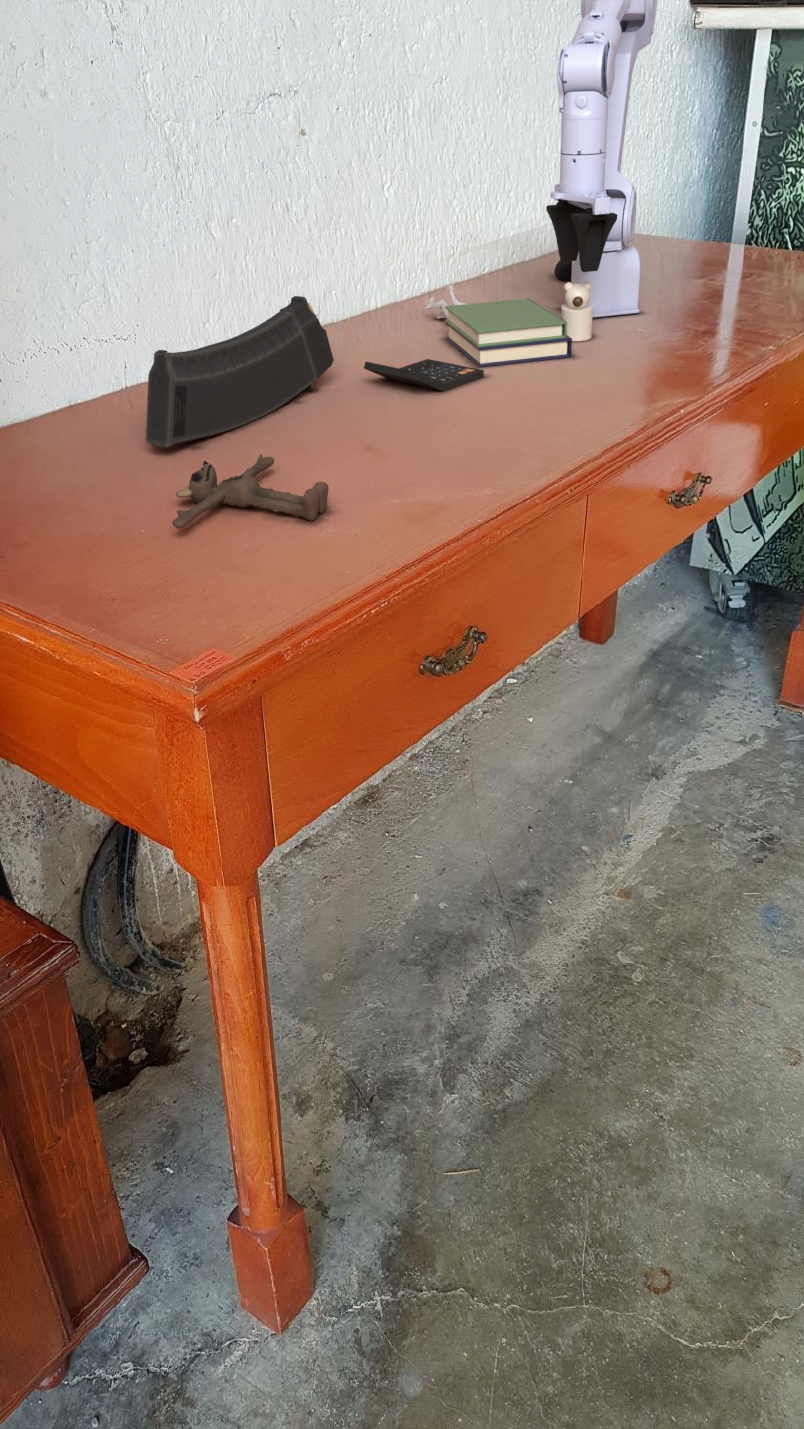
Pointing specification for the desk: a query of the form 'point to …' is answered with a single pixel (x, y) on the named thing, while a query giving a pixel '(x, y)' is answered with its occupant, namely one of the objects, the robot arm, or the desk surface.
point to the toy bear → (578, 311)
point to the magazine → (235, 377)
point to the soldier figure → (444, 303)
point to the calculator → (428, 374)
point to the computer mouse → (563, 270)
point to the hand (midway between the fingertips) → (578, 265)
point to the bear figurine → (247, 494)
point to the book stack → (507, 332)
